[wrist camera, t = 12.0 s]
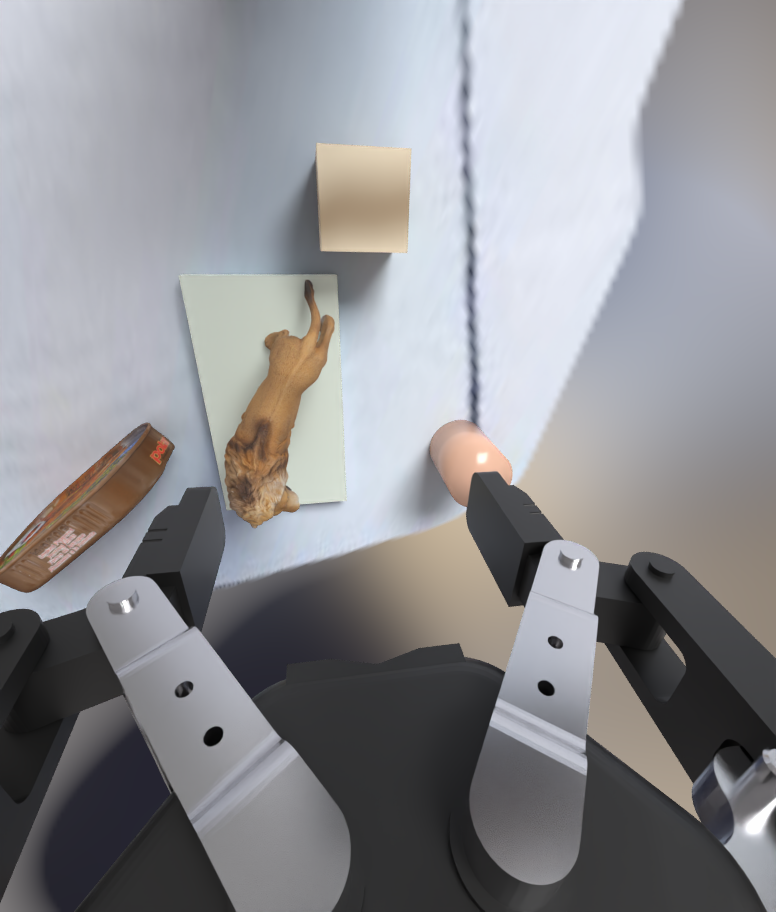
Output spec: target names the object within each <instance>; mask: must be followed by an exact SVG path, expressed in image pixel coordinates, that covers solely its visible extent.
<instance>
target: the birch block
mask: <svg viewBox="0 0 776 912" xmlns="http://www.w3.org/2000/svg"><path fill="white" fill-rule="evenodd" d="M315 160H316V180H317V200H318V220H319V240H320V250H321V251H335V252H388V253H407V248H408V221H409V195H410V168H411V149H409V148H392V147H375V146H358V145H341V144H324V143H316V159H315Z"/></svg>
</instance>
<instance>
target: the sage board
mask: <svg viewBox="0 0 776 912" xmlns="http://www.w3.org/2000/svg"><path fill="white" fill-rule="evenodd" d="M179 280H180V285H181V290H182V295H183V299H184V304H185V309H186V314H187V319H188V324H189V329H190V334H191V339H192V344H193V348H194V353H195V358H196V363H197V368H198V373H199V378H200V383H201V388H202V393H203V397H204V402H205V407H206V412H207V417H208V422H209V427H210V432H211V437H212V441H213V446H214V451H215V456H216V461H217V466H218V471H219V476H220V481H221V486H222V490H223V495H224V500H225V505H226V510H232V509H231V508H230V507H229V504H230V502H229V500H228V492H227V486H226V484H225V478H226V470H225V465H224V462H225V457H224V455H225V450H226V447H227V443H228V442H229V440H230V439H231V438H232V437H233V436H234V435H235V432H236V430H237V427H238V425H239V424H240V423H241V421H242V419H241V416H242V414H243V413H244V412H246V409H247V407H248V405H249V403H250V401H251V399H252V398H253V396H254V395H255V393H256V391H257V389H258V387H259V386H260V385H261V383H262V382H263V381H264V380H265V379H266V377H267V375H268V371H269V365H270V362H269V355H270V350H269V349H268V348H267V347H266V346H265V342H264V341H265V338H266V337H267V336H268V335H269V334H271V333H273V332H279V331H282V330H284V329H287V330H288V331H289V336H296V337H298V338H300V339H302V338H303V337H304V336H306V335H307V333H308V330H309V328H310V325H311V312H310V309H309V306H308V303H307V301H306V299H305V297H304V291H305V280H310V281H311V282H312V284H313V289H314V300H315V302H316V305H317V308H318V310H319V313H320V319H321V318H322V317H323V316H324V315H329V316H331V317H332V318H333V319H334V321H335V325H334V326H335V329H334V332H333V334H332V336H331V339H330V343H329V348H328V353H327V362H326V364H325V366H324V367H323V368H322V370H321V373H320V375H319V377H318V379H317V380H316V381H315V382H314V383H313V384H312V385H311V386H310V387H309V388H307V389H306V390H305V391H304V392H303V393H302V395H301V401H300V405H299V409H298V413H297V417H296V420H295V422H294V424H295V426H294V428H292V429H291V437H290V445H289V447H288V454H289V459H288V464H287V468H286V470H287V473H288V480H287V483H286V486H288V487H289V488H290V489H291V490H292V491H293V492H295V493H296V494H297V495H298V497H299V503H300V504H312V503H324V502H337V501H347V497H346V473H345V450H344V426H343V402H342V378H341V354H340V330H339V306H338V283H337V274H182V275H179ZM320 334H321V332H320V331H319V336H318V340H319V338H320ZM318 340H317V342H318Z"/></svg>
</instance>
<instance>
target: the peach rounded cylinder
mask: <svg viewBox="0 0 776 912" xmlns="http://www.w3.org/2000/svg"><path fill="white" fill-rule="evenodd" d="M430 456H431V458H432V460H433V462H434V464H435V466H436V468H437V470H438V471H439V473H440V475H441V477H442V479H443V480H444V482H445V484H446V486H447V488H448V490H449V491H450V493H451V495H452V497H453V498H454V500H455V501H456V502H458V503H459V504H461V505H463V506H465V507H467V504H468V498H469V491H470V484H471V478H472V475H473V474H474V473H475V472H492V471H497V472H499V474H500V475H501V476H502V478H503V479H504V480H505V481H506V483H507V484H508V485H510V484H511V481H512V467H511V464H510V463H509V461H508V460H507V459H506V457H505V456H504V455H503V454H502V453H501V452H500V451H499V450H498V448H497V447H496V446H495V445H494V444H493V443H492V442H491V441H490V439H489V438H488V437H487V436H486V435H485V434H484V433H483V432H482V430H481V429H480V428H479V427H478V426H477V425H476V424H474V423H472V422H470V421H466V420H455V421H452V422H449V423H447V424H445V425H443V426H442V427H441V428H439V429H438V430H437V432H436V433H435V434H434V436H433V437H432V440H431V443H430Z"/></svg>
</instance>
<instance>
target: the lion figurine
mask: <svg viewBox="0 0 776 912" xmlns="http://www.w3.org/2000/svg"><path fill="white" fill-rule="evenodd" d="M304 297H305V299H306V301H307V303H308V306H309V309H310V312H311V325H310V328H309V330H308V333H307V335H306V336H304V337H303V338H302V339H300V338H298V337H296V336H289V331H288V330H287V329H284V330H282V331H279V332H273V333H271V334H269V335H268V336H267V337H266V338H265V341H264V342H265V346H266V347H267V348H268V349H269V350H270V355H269V362H270V365H269V371H268V375H267V377H266V379H265V380H264V381H263V382H262V383H261V385H260V386H259V387H258V389H257V391H256V393H255V395H254V396H253V398H252V399H251V401H250V403H249V405H248V407H247V409H246V412H244V413H243V414H242V416H241V419H242V421H241V423H240V424H239V425H238V427H237V430H236V432H235V435H234V436H233V437H232V438H231V439H230V440H229V442H228V443H227V447H226V450H225V455H224V457H225V462H224V465H225V470H226V478H225V484H226V486H227V492H228V500H229V502H230V504H229V507H230V508H231V509H232V510H235V511H236V513H237V515H238V516H239V517H241V518H243V520H245V521H247V522H249V523H250V524H251V526H252V527H253V528H256V527H257V526H258V525H261V524H262V523H263V522H264V521H267V520H269V519H271V518H272V517H273V516H276V515H278V514H280V513H281V512H282V511H286V512H295V511H297V510H298V509H299V508H300V503H299V497H298V495H297V494H296V493H295V492H293V491H292V490H291V489H290V488H289V487H288V486H286V483H287V480H288V473H287V470H286V468H287V464H288V459H289V454H288V447H289V445H290V437H291V429H292V428H294V426H295V424H294V422H295V420H296V417H297V413H298V409H299V405H300V401H301V395H302V393H303V392H304V391H305V390H306V389H307V388H309V387H310V386H311V385H312V384H313V383H314V382H315V381H316V380H317V379H318V377H319V375H320V373H321V370H322V368H323V367H324V366H325V364H326V362H327V353H328V348H329V343H330V339H331V336H332V334H333V332H334V329H335V326H334V325H335V321H334V319H333V318H332V317H331V316H329V315H324V316H323V317H322V318H321V319H320V313H319V310H318V308H317V305H316V302H315V300H314V289H313V284H312V282H311V281H310V280H305V291H304ZM319 331H320V332H321V334H320V338H319V340H318V336H319ZM317 340H318V342H317Z"/></svg>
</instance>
